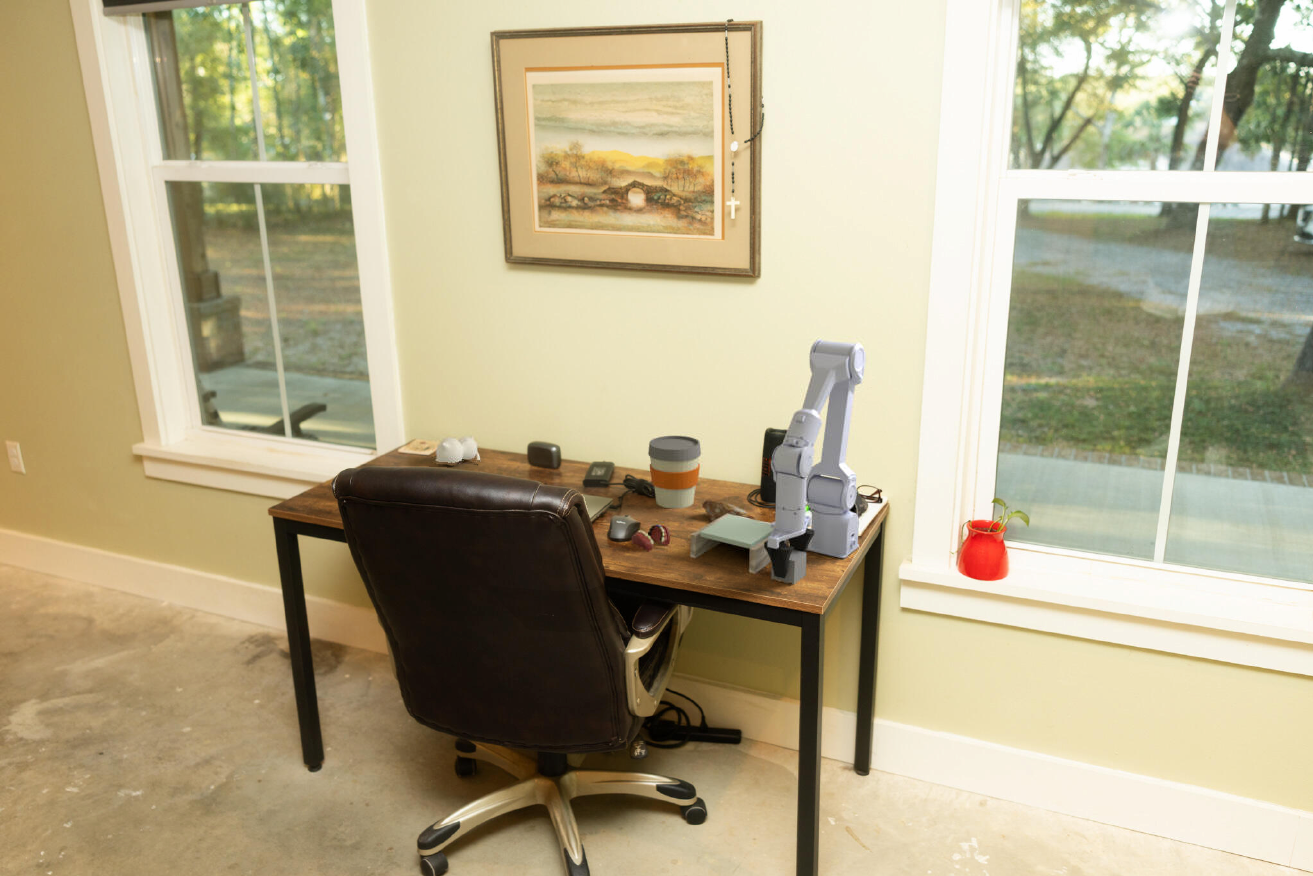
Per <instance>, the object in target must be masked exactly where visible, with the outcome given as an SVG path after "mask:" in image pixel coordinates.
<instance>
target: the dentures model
mask: <svg viewBox="0 0 1313 876" xmlns="http://www.w3.org/2000/svg"><path fill="white" fill-rule="evenodd" d="M654 541H656V542H658V541H659V542H658V543H660V544H661V545H663V546H669V545H670V541H671V533H670V530H669V528H668V527H667V526H666V525H659V524H652V525H651V526H650V528H649V530H648V531H647V533H646V531H644V530H638V531H637V532H635V534H633V535H632V536H631V542H632V544H633V545H634V544H635V545H634V546H636V545H637V547H638V546H639V547H638V548H640V547H642V548H643V550H645V549H646V550H645V551H647V552H650V550H651V551H652V550H653V548H654V547H653V545H654ZM668 544H669V545H668ZM642 548H641V549H642Z"/></svg>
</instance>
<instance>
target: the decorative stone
mask: <svg viewBox="0 0 1313 876" xmlns="http://www.w3.org/2000/svg"><path fill="white" fill-rule="evenodd" d="M702 508H704V510H705V512H706V513H707V515H708V516H709V517H710V520H711V522H713V521H715V520H717V519H718V518H720V517H722V516H724V515H725V514H732V515H736V516H741V517H745V518H750V519H754V520H757V519H756V518H755V516H752V515H751V514H750V515H749V514H748V512H747V511H746V510H744V509H742V508H741V507H738V506H737V505H734V504H731V503H727V502H721V501H720V500H716V499H711V498H709V499H706V500H705V501H704V502H703V503H702Z"/></svg>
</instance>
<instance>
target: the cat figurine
mask: <svg viewBox="0 0 1313 876" xmlns="http://www.w3.org/2000/svg"><path fill="white" fill-rule="evenodd" d="M435 453H436V458H435V461H438V462H448V463H451V462H452V463H455V462H459V461H461V462H462V461H463V460H462V459H472V458H473V459H474V458H475V457H476V461H477V460H480V461H481V457H480V454H479V452H478V444H477V442H476V441H475V439H474V437H473V435H470V437H469V436H462V437H461V438H459V439H456V438H454V437H446V438H444V439H442V440H441V441H440V442H439V443H438V445H437V446H436V450H435ZM473 459H472V460H473Z"/></svg>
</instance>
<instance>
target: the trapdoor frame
mask: <svg viewBox="0 0 1313 876" xmlns="http://www.w3.org/2000/svg"><path fill="white" fill-rule="evenodd" d="M729 515H732V514H725V515H724V516H722V517H720V518H718V519H717V520H715V521H713V522H712V521H711V522H709V523H708V524H706V525H705V526H703V527H701V528H699V529H697V530H696V531H694V532H692V533H691V534H690V536H689V537H690V539H689V540H690V544H689V545H690V547H689V548H690V558H694V559H696V558H698V557H699V556H701V555H703V554H704V552H705V553H706V552H708V551H709V550H711V549H713V548H714V547H716V546H717V545H720V544H721V543H722V542H721V541H717V540H712V539H708V538H704V537H700V532H701V531H703V530H704V529H706V528H708V527H710V526H711V525H713V524H715V523H717V522H718V521H720V520H722V519H723V518H725V517H727V516H729ZM733 516H736V515H733ZM737 517H741V516H737ZM742 518H745V517H742ZM746 519H750V518H746ZM750 520H754V519H750ZM755 521H759V522H764V523H768V524H771V523H772V522H767V521H762V520H758V519H756V520H755ZM767 540H768V537H767V538H766V539H764V540H763V541H761V542H760V543H758V544H756V545H755V546H753V547H752V548H750V549H749V560H748V561H749V568H748V571H749V573H751V574H756V573H758V572H759V571H761V569H763V568H764V567H766V566H767V565H769V564H771V560H770V557H769V555H768V553H767V551H766V549H765V548H764V542H766V541H767ZM785 543H786V545H787V546H790V545H789V540H788V539H786V540H785Z"/></svg>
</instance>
